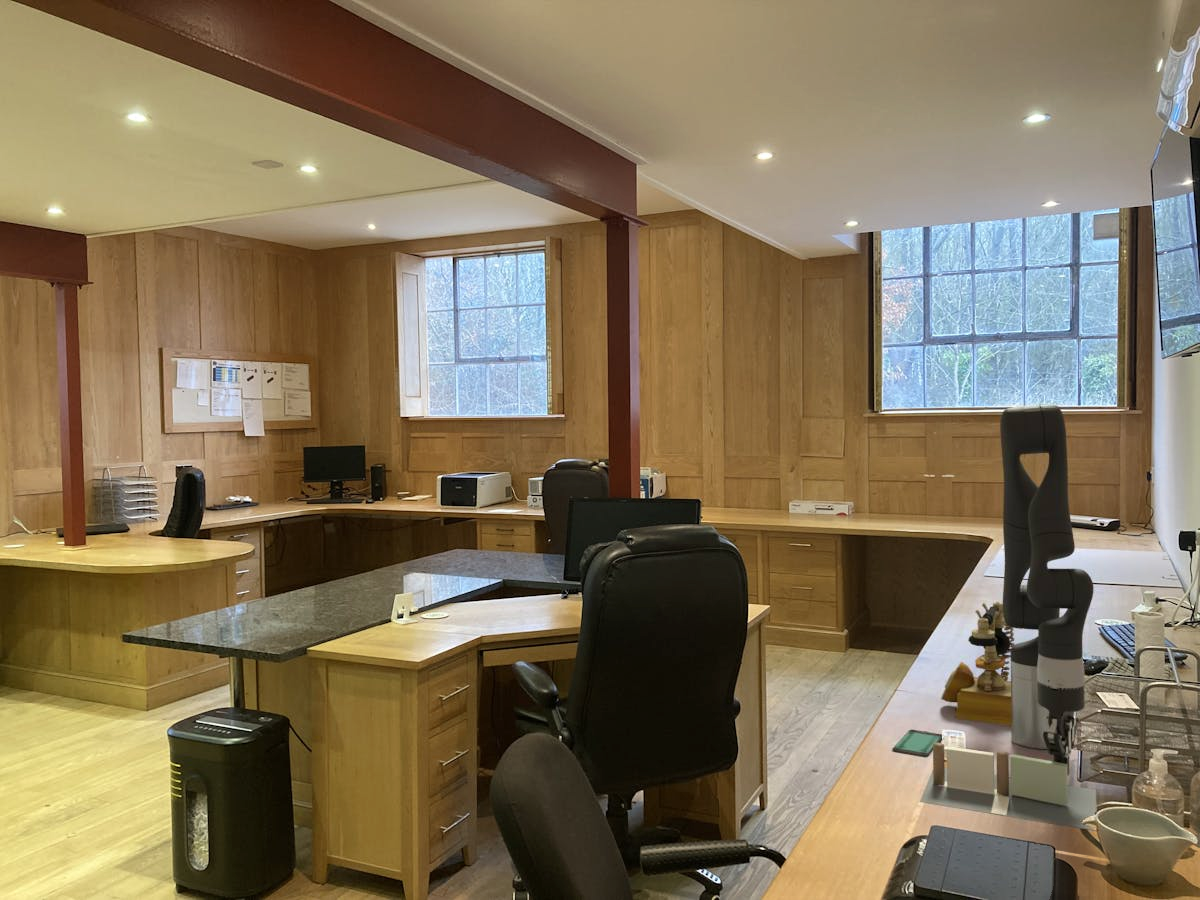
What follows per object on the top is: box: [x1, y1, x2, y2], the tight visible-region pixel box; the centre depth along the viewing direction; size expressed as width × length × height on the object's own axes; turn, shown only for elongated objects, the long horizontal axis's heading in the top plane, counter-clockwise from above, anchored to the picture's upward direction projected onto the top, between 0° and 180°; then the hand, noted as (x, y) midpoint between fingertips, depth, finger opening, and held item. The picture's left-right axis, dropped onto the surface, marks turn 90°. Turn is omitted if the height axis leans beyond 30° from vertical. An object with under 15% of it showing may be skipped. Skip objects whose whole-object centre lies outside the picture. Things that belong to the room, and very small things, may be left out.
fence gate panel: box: [1009, 753, 1068, 806], centre depth 163 cm, size 9×2×7 cm, turn 54°
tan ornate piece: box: [940, 601, 1015, 727], centre depth 218 cm, size 35×18×25 cm, turn 148°
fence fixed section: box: [932, 742, 1010, 796], centre depth 169 cm, size 2×13×7 cm, turn 62°
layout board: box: [919, 766, 1098, 832], centre depth 165 cm, size 19×28×1 cm
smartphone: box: [892, 729, 943, 758], centre depth 193 cm, size 7×1×15 cm
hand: (1061, 775), depth 163 cm, fingers closed
